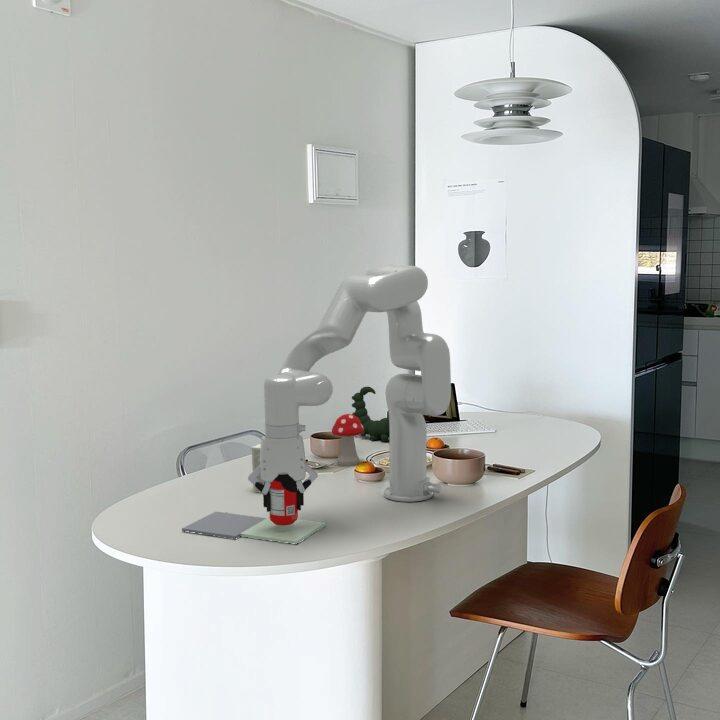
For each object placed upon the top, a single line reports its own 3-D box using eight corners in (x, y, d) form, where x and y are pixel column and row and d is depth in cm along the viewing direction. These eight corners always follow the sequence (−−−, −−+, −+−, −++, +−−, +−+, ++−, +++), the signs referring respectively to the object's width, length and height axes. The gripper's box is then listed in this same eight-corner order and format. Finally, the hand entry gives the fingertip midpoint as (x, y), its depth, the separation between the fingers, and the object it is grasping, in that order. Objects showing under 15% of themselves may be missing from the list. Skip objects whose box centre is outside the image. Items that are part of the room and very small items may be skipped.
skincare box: (280, 489, 232) (280, 444, 230) (273, 494, 227) (273, 448, 226) (259, 487, 234) (258, 443, 232) (251, 492, 229) (251, 446, 228)
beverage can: (303, 523, 196) (302, 471, 195) (278, 528, 193) (277, 475, 191) (288, 516, 201) (287, 465, 200) (264, 521, 198) (263, 469, 196)
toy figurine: (350, 444, 293) (416, 446, 280) (345, 388, 291) (412, 387, 278) (364, 439, 301) (429, 440, 288) (359, 384, 299) (425, 383, 286)
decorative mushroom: (341, 469, 253) (340, 418, 251) (326, 463, 260) (325, 413, 258) (370, 464, 258) (369, 414, 256) (354, 458, 266) (354, 410, 264)
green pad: (324, 526, 201) (324, 522, 201) (296, 545, 188) (296, 541, 188) (271, 519, 206) (271, 515, 206) (240, 536, 193) (240, 533, 193)
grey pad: (266, 521, 204) (266, 518, 204) (235, 539, 192) (235, 536, 192) (215, 514, 210) (215, 511, 210) (182, 531, 197) (181, 528, 197)
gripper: (319, 426, 199) (320, 502, 201) (242, 429, 197) (244, 506, 199) (322, 433, 192) (323, 512, 194) (242, 436, 189) (245, 516, 192)
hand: (283, 508), depth 197 cm, fingers closed on beverage can, 6 cm apart
